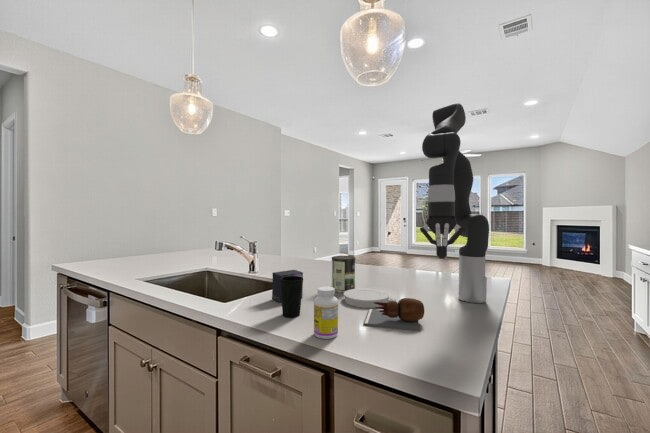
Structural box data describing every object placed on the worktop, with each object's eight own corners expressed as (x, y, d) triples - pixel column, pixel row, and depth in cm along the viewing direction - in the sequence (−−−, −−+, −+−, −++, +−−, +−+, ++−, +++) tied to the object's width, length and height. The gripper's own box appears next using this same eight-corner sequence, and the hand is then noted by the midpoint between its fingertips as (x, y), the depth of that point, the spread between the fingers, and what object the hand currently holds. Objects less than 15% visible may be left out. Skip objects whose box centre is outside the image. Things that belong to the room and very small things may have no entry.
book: (417, 314, 102) (417, 313, 102) (419, 330, 88) (419, 328, 88) (368, 310, 106) (368, 308, 106) (363, 325, 92) (363, 323, 92)
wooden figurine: (420, 296, 98) (372, 295, 98) (426, 301, 92) (375, 300, 92) (420, 317, 98) (372, 316, 98) (425, 324, 92) (375, 323, 92)
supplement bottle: (313, 330, 88) (313, 285, 88) (336, 330, 89) (336, 285, 88) (314, 340, 81) (314, 291, 81) (339, 339, 82) (339, 291, 82)
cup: (284, 320, 96) (284, 281, 96) (276, 313, 103) (276, 277, 103) (306, 316, 100) (307, 279, 99) (297, 309, 106) (297, 275, 106)
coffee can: (354, 286, 140) (354, 255, 139) (356, 292, 129) (356, 259, 129) (331, 286, 140) (331, 255, 140) (331, 292, 130) (331, 259, 129)
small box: (280, 303, 114) (280, 275, 114) (271, 299, 119) (271, 272, 119) (303, 298, 121) (303, 271, 121) (293, 294, 126) (293, 269, 126)
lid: (402, 308, 110) (402, 300, 110) (346, 309, 109) (346, 300, 108) (389, 295, 127) (389, 288, 127) (340, 295, 126) (340, 288, 126)
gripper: (462, 200, 95) (462, 257, 95) (417, 201, 98) (417, 256, 98) (467, 199, 87) (467, 261, 88) (419, 200, 91) (419, 259, 91)
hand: (441, 258), depth 93 cm, fingers closed
